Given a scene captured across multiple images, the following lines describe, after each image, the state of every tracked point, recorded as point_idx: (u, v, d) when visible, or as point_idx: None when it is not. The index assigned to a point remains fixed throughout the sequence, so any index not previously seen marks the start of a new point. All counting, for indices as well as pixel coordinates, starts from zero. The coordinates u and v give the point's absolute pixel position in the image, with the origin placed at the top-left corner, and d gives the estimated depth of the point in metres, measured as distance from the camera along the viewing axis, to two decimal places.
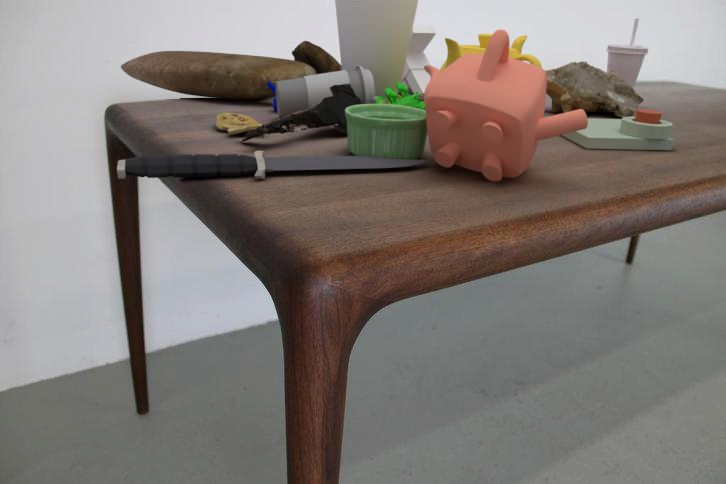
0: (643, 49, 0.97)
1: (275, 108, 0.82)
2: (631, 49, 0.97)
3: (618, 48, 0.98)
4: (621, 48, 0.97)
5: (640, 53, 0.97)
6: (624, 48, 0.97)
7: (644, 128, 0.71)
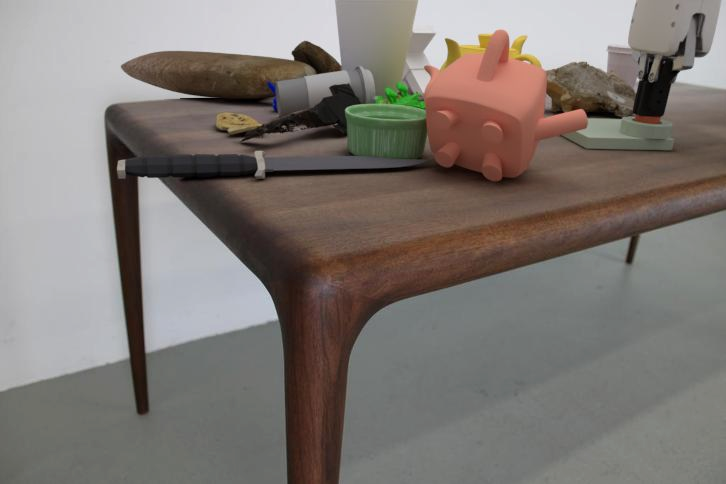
0: None
1: (275, 108, 0.82)
2: (631, 49, 0.97)
3: (618, 48, 0.98)
4: (621, 48, 0.97)
5: None
6: (624, 48, 0.97)
7: (644, 128, 0.71)
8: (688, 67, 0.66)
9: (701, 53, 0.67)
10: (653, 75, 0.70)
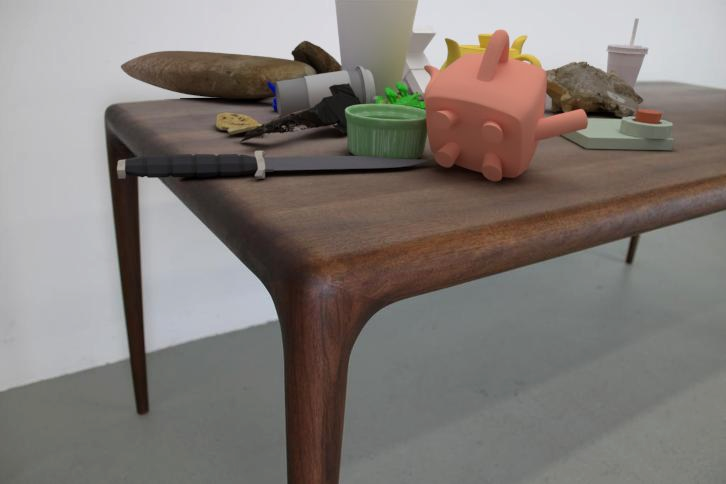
0: (643, 49, 0.97)
1: (275, 108, 0.82)
2: (631, 49, 0.97)
3: (618, 48, 0.98)
4: (621, 48, 0.97)
5: (640, 53, 0.97)
6: (624, 48, 0.97)
7: (644, 128, 0.71)
8: None
9: None
10: None
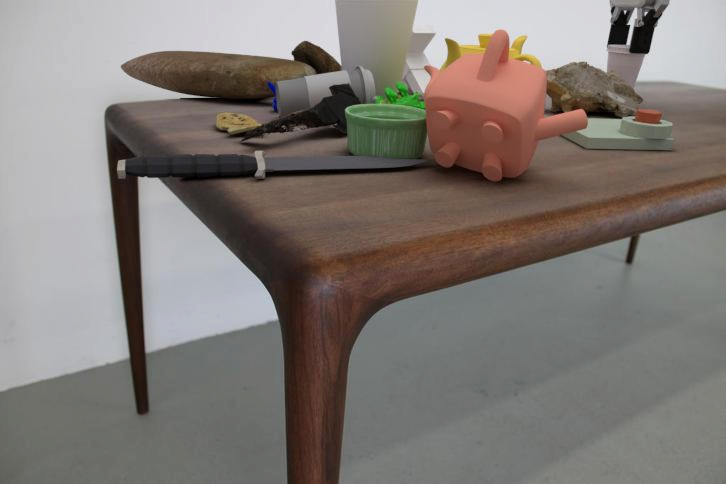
0: None
1: (275, 108, 0.82)
2: None
3: (618, 48, 0.98)
4: (621, 48, 0.97)
5: None
6: (624, 48, 0.97)
7: (644, 128, 0.71)
8: (666, 3, 0.90)
9: None
10: (640, 21, 0.93)
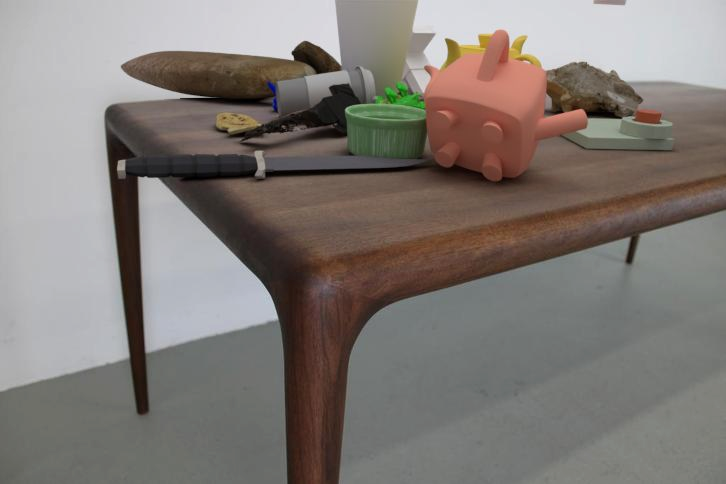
0: None
1: (275, 108, 0.82)
2: None
3: None
4: None
5: None
6: None
7: (644, 128, 0.71)
8: None
9: None
10: None
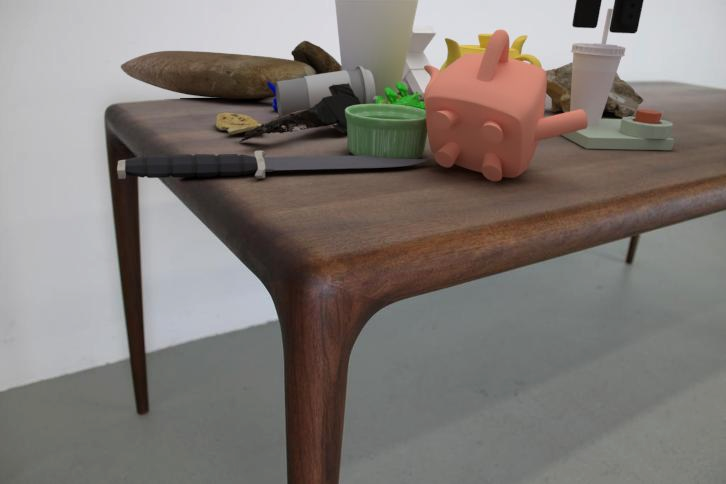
0: (618, 49, 0.73)
1: (275, 108, 0.82)
2: (602, 49, 0.72)
3: (585, 48, 0.73)
4: (589, 48, 0.73)
5: (614, 55, 0.73)
6: (593, 48, 0.73)
7: (644, 128, 0.71)
8: None
9: None
10: None
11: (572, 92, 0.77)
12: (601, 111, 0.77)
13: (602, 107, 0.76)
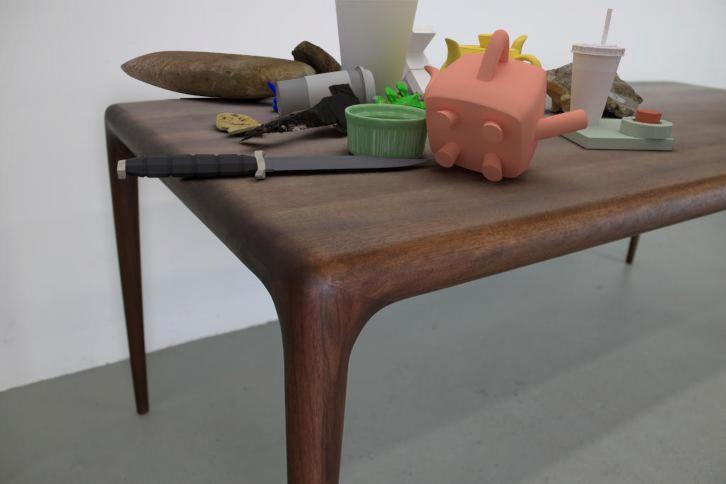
0: (618, 49, 0.73)
1: (275, 108, 0.82)
2: (602, 49, 0.72)
3: (585, 48, 0.73)
4: (589, 48, 0.73)
5: (614, 55, 0.73)
6: (593, 48, 0.73)
7: (644, 128, 0.71)
8: None
9: None
10: None
11: (572, 92, 0.77)
12: (601, 111, 0.77)
13: (602, 107, 0.76)
